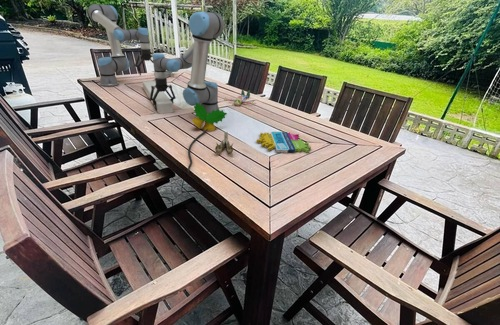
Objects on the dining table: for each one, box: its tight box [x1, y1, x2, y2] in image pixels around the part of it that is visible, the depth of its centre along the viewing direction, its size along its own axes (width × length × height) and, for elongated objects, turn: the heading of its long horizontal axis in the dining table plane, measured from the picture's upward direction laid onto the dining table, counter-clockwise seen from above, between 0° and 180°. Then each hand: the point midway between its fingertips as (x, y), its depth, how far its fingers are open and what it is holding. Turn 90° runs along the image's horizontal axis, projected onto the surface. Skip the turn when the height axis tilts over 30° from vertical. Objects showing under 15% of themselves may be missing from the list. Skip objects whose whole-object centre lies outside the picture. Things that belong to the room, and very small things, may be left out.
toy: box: [223, 89, 257, 106], centre depth 219 cm, size 28×7×30 cm
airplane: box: [151, 70, 176, 81], centre depth 281 cm, size 38×31×10 cm
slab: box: [141, 79, 174, 114], centre depth 211 cm, size 72×10×7 cm, turn 27°
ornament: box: [191, 102, 228, 132], centre depth 162 cm, size 21×8×15 cm, turn 105°
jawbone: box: [214, 131, 234, 156], centre depth 136 cm, size 9×15×10 cm
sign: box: [256, 131, 312, 154], centre depth 152 cm, size 26×2×30 cm
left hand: (148, 75), depth 228 cm, fingers open, 13 cm apart
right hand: (163, 108), depth 190 cm, fingers closed on slab, 10 cm apart
